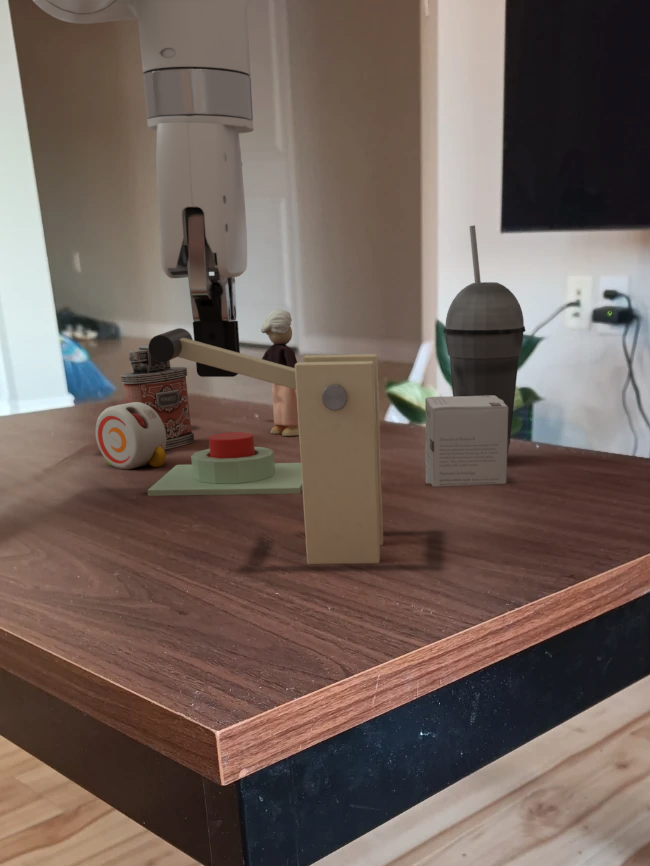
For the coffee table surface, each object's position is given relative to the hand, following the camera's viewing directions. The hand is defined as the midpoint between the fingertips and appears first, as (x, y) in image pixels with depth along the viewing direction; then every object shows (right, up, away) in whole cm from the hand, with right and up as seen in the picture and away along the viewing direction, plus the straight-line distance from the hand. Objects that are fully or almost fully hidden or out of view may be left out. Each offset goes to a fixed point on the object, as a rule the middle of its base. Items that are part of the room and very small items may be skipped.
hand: (219, 375), depth 81 cm
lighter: (-11, +1, +26) cm, 29 cm away
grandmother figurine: (+2, +4, +32) cm, 33 cm away
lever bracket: (+11, -18, -16) cm, 26 cm away
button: (+1, -6, +3) cm, 7 cm away
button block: (+1, -9, +4) cm, 10 cm away
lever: (+6, -8, -21) cm, 23 cm away
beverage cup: (+22, -3, +15) cm, 27 cm away
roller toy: (-11, -3, +16) cm, 20 cm away
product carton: (+20, -9, +4) cm, 22 cm away
